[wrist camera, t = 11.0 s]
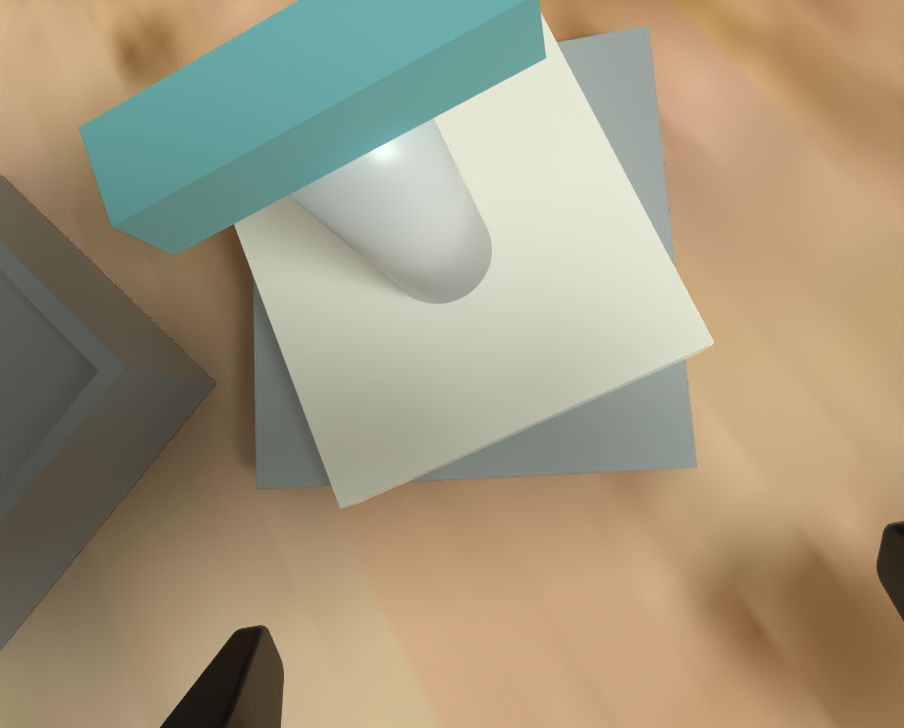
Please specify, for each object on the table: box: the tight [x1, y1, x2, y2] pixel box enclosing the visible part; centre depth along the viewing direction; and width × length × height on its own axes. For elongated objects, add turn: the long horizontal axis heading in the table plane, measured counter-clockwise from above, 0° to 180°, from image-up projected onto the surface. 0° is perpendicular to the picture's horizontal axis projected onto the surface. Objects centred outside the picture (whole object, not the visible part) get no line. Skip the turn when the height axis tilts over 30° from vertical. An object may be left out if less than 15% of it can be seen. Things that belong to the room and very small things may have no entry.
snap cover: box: [79, 0, 714, 509], centre depth 14 cm, size 11×11×10 cm
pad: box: [253, 25, 697, 489], centre depth 20 cm, size 13×13×2 cm
